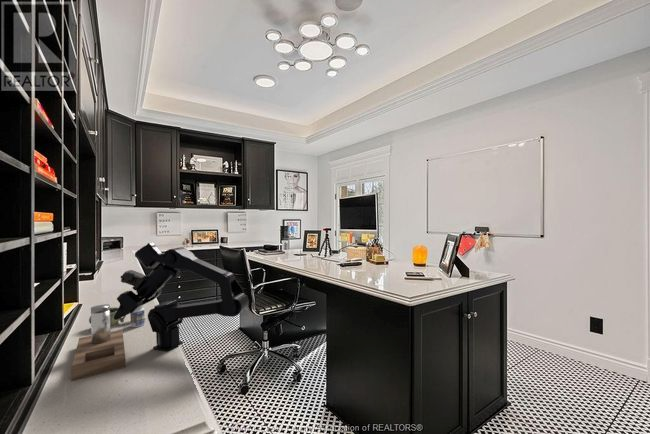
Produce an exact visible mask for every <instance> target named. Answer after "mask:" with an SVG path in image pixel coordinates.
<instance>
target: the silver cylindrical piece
mask: <svg viewBox="0 0 650 434" xmlns="http://www.w3.org/2000/svg"><path fill="white" fill-rule="evenodd" d="M110 308H111V304H109V303H108V304H104V303H103V304H99V305H94V306H91V307H90V316H91V324H90V327H91V328H90V329H91V332H90V336H91V341H92V343H93V344H98V343H103V342H107V341H109V340H110V339H111V334H110V332H111V329H110Z"/></svg>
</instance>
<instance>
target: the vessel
mask: <svg viewBox="0 0 650 434" xmlns="http://www.w3.org/2000/svg"><path fill="white" fill-rule="evenodd" d="M118 308H119V306H116V307H115V306H113V307H110V330H111V329H113V328H116V327H119V326H120V324H121V323H124V322H125V319H126V316H127V315H126V316H124V317H121V318H119V319H117V320H115V319H114V316H115V314H116V312H117V310H118ZM119 321H120V322H119ZM88 322H89V324H90V325H91V315H89V318H88Z"/></svg>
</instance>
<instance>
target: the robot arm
mask: <svg viewBox="0 0 650 434" xmlns="http://www.w3.org/2000/svg"><path fill="white" fill-rule="evenodd" d="M134 257H135V258H136V260H138V261H139V262H140V263H141V264H142V265H143V266H144V267H145V268H146V269H152V270H151V271H150V272H149V273H148V274H147V275H146V274H143V273H142V272H139V271H136V270H133V269H129V270H125V271H124V272H123V273H122V275H121V276H120V282H121V283H122V284H124V283H125V284H127V285H130V286H132V288H131V289H133V290H134V291H135V292H134V291H132V290H126V291H124V292H122V293H120V294H119V295H118V296H117V297H116V300H117V301H118V303H119V306H118V310H117V312H116V314H115V316H114V319H115V320H117V319H119V318H123V317H124V316H127V315H130V313H132V312H134V311H136V310H137V309H138V308H139V307H140V306H142V305H144V304H146V303H147V304H148V303H150V302H152V301H154V300H155V299H156V298H158V297H159V296H160V295H161V294H162V293H163V290H162V288H164V287H165V286H166V285H165V284H166V283H167V282H168V281H169V280H170V279H171V278H172V277H173V278H181V276H182V275H181V270H182V271H183V270H185V271H188V272H191V273H193V274H195V275H197V276H200V277H202V278H204V279H207V280H209V281H211V282H213V283H214V284H215V283H216V284H217V285H218V286H219V290H220V299H217V300H209V301H200V302H194V303H186V304H180V303H178V299H175V300H166V301H163V302H161V303H159V304H157V305H154V306H153V307H154V308H151V309H149V311H148V313H147V320H148V322H149V325H150V328H151V331H152V333H155V334H156V335H155V336H156V339H155V340H156V345H155V346H153V347H152V349H153V350H159V351H165V352H170V351H172V350H174V349H175V348H177V347H179V346H180V345H182V344H184V341H182V340H180V326H179V325H180V324H182V323H183V321H184V319H186V318H188V319H189V318H194V317H201V316H202V317H204V316H209V315H210V316H212V315H220V316H222V317H237V316H238V315H239V314H241V313H242V312H243V311H245V310H246V309H248V307H249V304H250V299H249V297H248V295H247V294H246V293H245V291H244V288H243V287H242V286H241V284H240V283H239V281H238V280H237V278H236V276H235V274H234V273H233V272H230V271H227V270H225V269H222V268H220V267H217V266H215V265H213V264H211V263H209V262H207V261H204V260H202V259H200V258H198V257H197V256H196V255H195V253H193V252H192V251H191V250H189V249H187V248H186V247H175V248H170V249H167V250H166V251H164V252H162V251H161V250H160V249H159V248H158V247H157V246H156V244H155V243H154V242H148V243H146V245H144V246H143V247H141V248H140V249H138V250H137V251H135V253H134Z"/></svg>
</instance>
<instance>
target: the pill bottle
mask: <svg viewBox="0 0 650 434" xmlns="http://www.w3.org/2000/svg"><path fill="white" fill-rule="evenodd" d="M129 315H130V327H131V328H138V327H142V326H144V325H145V321H146V319H145V316H144V308H143V305H142V306H140V307H139V308H138V309H137V310H136V311H134V312H132V313H130V314H129Z"/></svg>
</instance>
